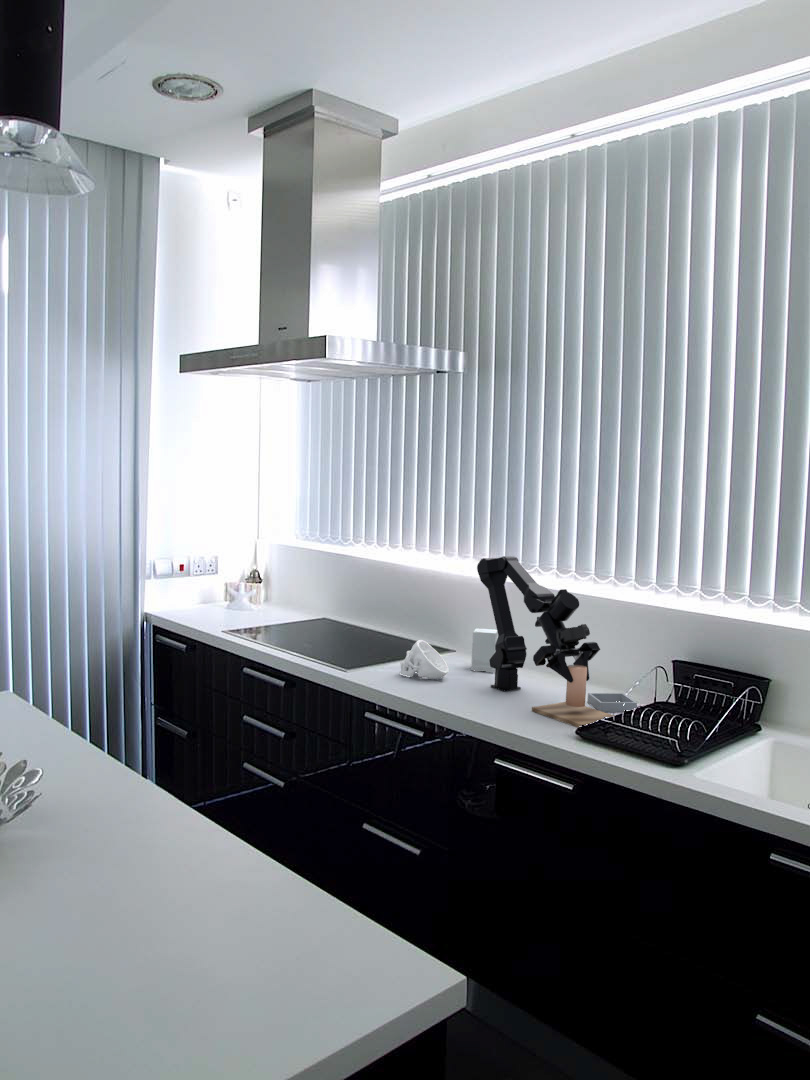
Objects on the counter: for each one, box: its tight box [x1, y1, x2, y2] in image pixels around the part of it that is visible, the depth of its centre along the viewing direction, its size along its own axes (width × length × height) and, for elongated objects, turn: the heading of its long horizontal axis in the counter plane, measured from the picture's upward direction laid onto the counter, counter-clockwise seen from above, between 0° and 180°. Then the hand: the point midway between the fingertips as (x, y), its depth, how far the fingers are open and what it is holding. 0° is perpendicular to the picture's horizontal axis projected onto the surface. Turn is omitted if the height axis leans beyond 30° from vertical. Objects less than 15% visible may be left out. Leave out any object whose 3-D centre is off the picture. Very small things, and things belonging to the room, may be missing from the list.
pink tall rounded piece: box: [565, 664, 587, 707], centre depth 241 cm, size 5×5×10 cm
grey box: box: [586, 692, 638, 713], centre depth 252 cm, size 10×10×2 cm
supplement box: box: [470, 628, 498, 673], centre depth 292 cm, size 7×7×13 cm
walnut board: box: [531, 701, 615, 728], centre depth 242 cm, size 18×14×1 cm
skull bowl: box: [399, 639, 450, 680], centre depth 279 cm, size 10×14×12 cm
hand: (580, 680), depth 240 cm, fingers closed on pink tall rounded piece, 5 cm apart
